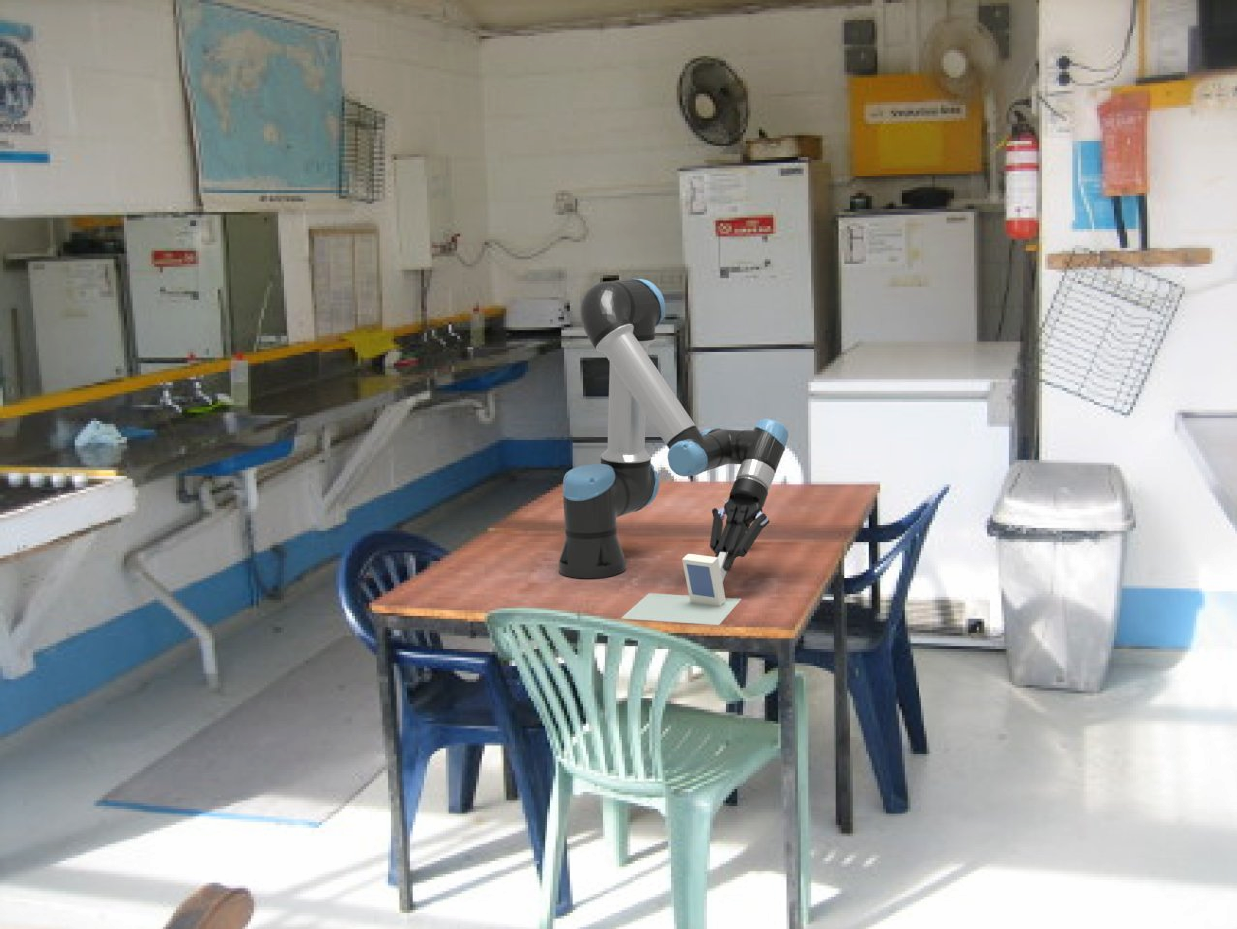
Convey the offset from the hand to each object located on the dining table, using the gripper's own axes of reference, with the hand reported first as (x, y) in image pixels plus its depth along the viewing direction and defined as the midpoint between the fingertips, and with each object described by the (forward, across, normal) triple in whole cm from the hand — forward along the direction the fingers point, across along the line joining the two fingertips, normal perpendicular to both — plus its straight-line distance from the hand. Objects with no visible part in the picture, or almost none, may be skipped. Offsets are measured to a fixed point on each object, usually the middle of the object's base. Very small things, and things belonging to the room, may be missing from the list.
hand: (715, 582), depth 270 cm
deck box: (+4, +1, -2) cm, 4 cm away
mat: (+8, +4, +2) cm, 9 cm away
